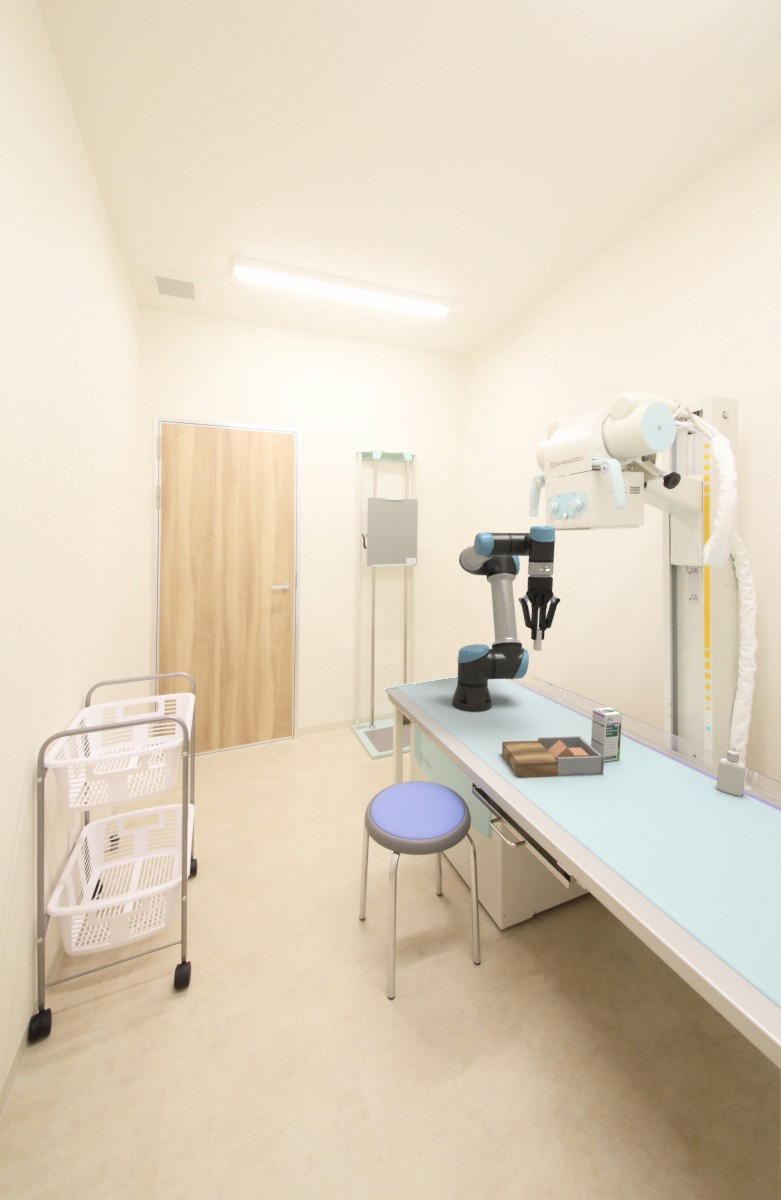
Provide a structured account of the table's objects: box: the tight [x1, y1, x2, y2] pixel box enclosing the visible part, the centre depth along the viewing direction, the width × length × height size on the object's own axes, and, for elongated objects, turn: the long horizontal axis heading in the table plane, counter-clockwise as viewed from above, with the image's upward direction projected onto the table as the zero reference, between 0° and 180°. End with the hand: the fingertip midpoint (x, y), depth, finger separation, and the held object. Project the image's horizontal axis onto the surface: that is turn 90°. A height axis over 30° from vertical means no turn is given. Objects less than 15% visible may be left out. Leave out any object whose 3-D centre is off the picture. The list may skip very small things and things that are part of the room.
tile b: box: [569, 747, 589, 757], centre depth 136 cm, size 5×5×3 cm
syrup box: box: [590, 706, 623, 763], centre depth 140 cm, size 6×6×14 cm
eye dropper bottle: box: [715, 745, 747, 797], centre depth 121 cm, size 4×6×12 cm
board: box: [501, 740, 559, 779], centre depth 135 cm, size 14×11×4 cm
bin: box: [537, 735, 605, 777], centre depth 136 cm, size 14×13×5 cm
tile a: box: [548, 740, 573, 760], centre depth 136 cm, size 5×5×3 cm
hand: (537, 649), depth 150 cm, fingers closed
